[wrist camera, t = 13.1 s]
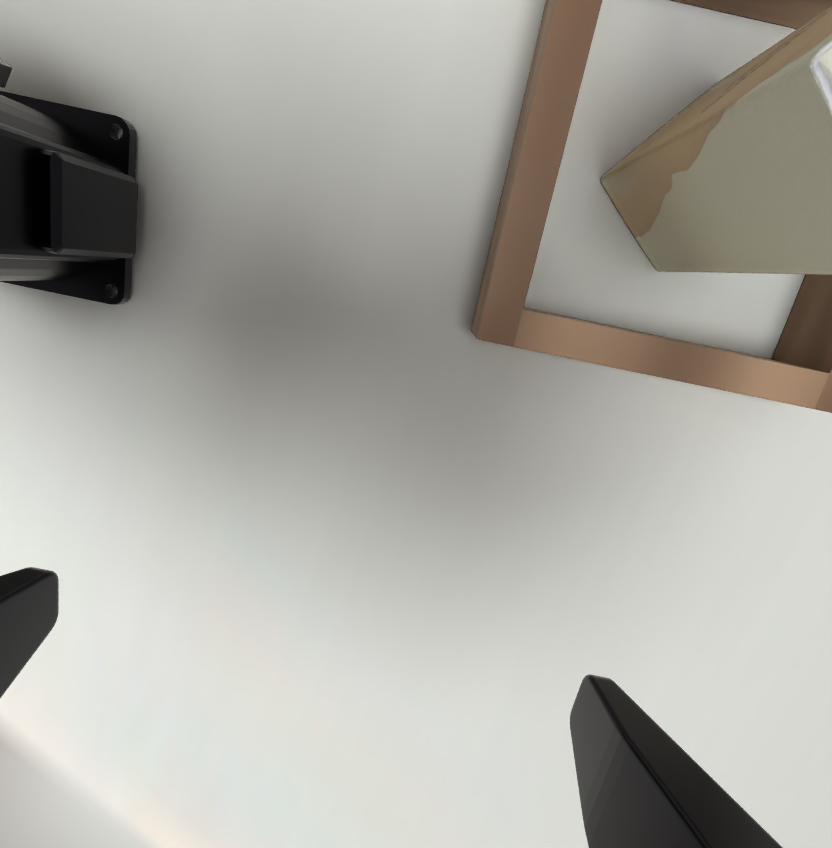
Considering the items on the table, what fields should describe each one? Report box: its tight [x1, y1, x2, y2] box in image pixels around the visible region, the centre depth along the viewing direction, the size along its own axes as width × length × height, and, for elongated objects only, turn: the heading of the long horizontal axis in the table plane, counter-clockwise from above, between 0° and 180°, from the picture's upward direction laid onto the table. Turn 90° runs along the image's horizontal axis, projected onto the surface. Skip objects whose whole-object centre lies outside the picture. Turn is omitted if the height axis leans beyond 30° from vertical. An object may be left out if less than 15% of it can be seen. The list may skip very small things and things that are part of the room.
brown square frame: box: [471, 0, 832, 413], centre depth 17 cm, size 13×13×3 cm
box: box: [601, 7, 832, 275], centre depth 13 cm, size 5×4×11 cm
